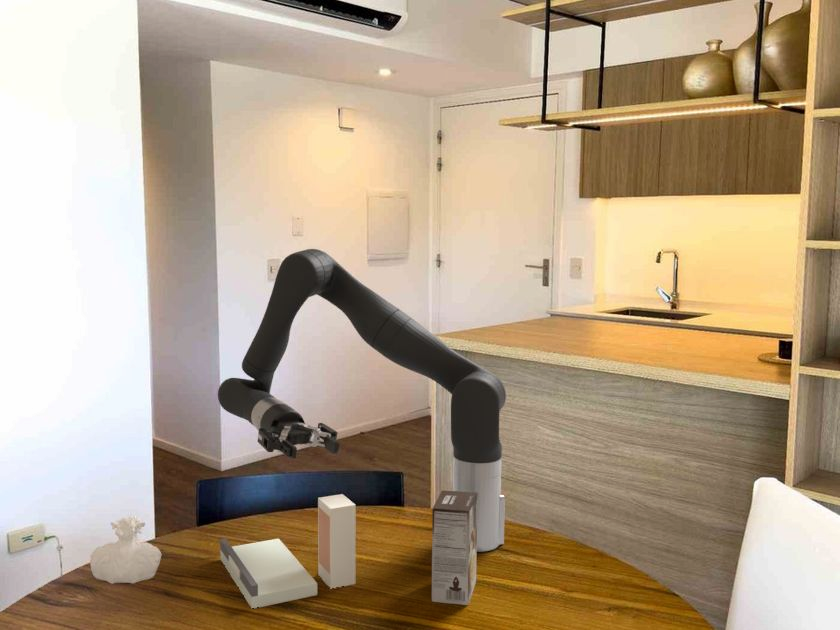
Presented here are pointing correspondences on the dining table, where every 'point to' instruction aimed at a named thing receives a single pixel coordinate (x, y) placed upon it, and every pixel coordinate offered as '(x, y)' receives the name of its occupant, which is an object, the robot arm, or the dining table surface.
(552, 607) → the dining table surface
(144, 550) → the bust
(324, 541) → the carton
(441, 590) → the coffee box
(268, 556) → the shelf board
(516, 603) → the dining table surface
